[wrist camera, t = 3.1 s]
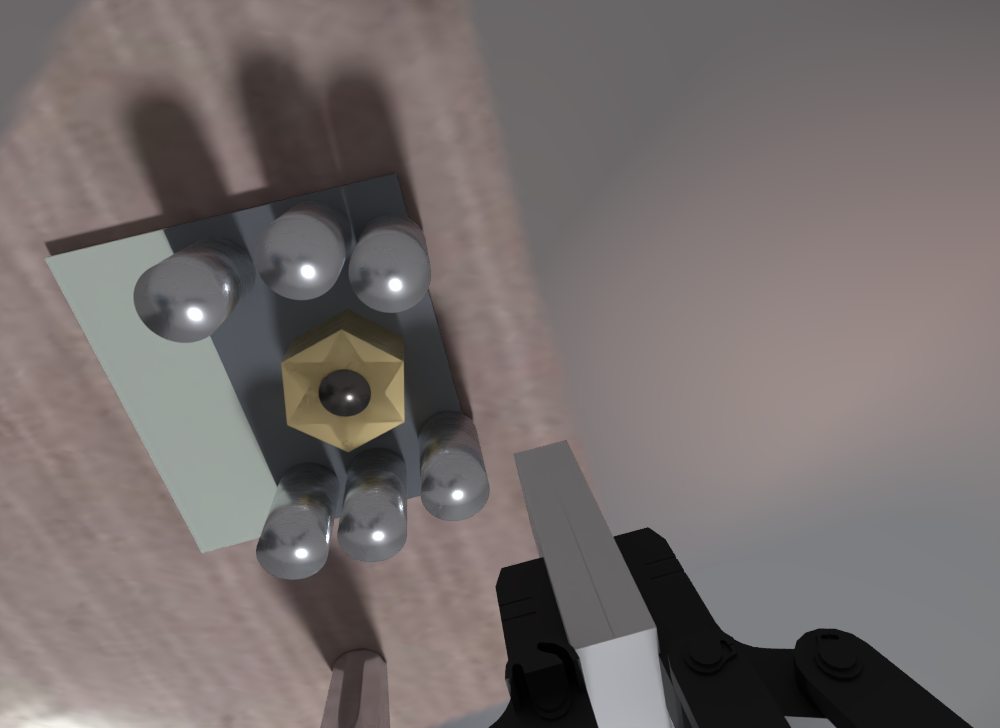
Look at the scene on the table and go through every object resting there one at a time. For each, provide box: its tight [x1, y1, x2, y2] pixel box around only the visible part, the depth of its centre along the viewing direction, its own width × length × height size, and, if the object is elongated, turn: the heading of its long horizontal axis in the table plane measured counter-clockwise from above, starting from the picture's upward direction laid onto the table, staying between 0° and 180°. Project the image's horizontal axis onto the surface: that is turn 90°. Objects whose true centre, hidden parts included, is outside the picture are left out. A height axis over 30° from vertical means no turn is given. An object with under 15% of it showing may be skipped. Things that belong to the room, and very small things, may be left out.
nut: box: [281, 309, 405, 452], centre depth 27 cm, size 6×5×3 cm
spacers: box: [133, 200, 490, 580], centre depth 26 cm, size 10×15×5 cm
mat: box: [44, 173, 462, 553], centre depth 29 cm, size 15×16×1 cm
